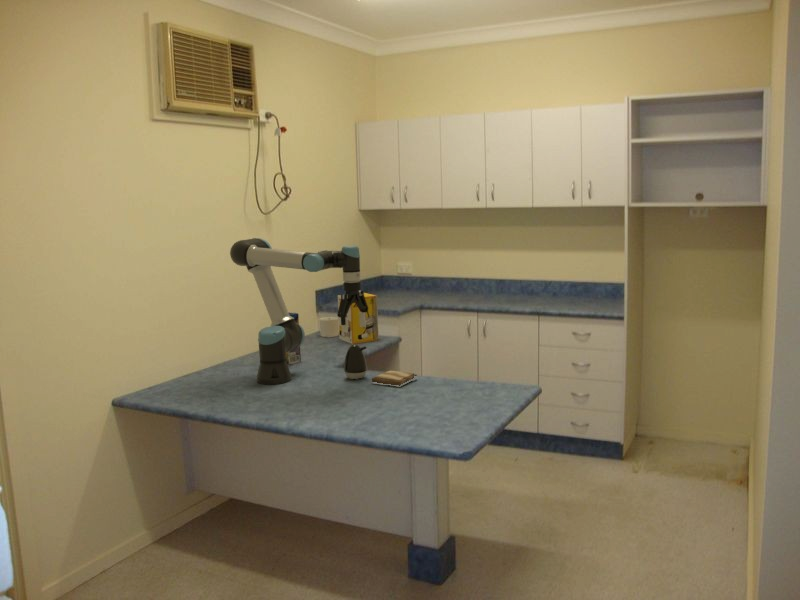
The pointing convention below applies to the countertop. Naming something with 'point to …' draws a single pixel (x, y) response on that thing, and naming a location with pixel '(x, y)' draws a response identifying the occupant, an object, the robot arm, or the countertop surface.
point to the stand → (393, 377)
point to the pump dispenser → (355, 362)
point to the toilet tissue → (329, 327)
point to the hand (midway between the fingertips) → (354, 329)
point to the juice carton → (294, 354)
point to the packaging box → (354, 330)
